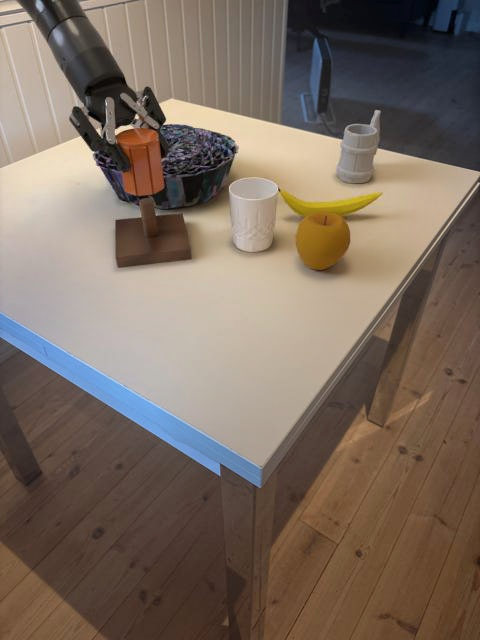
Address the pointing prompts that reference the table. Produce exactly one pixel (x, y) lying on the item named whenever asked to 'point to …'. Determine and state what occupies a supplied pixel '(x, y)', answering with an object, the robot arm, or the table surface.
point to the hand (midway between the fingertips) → (147, 162)
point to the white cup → (253, 213)
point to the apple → (322, 239)
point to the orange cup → (142, 161)
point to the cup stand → (151, 237)
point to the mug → (359, 151)
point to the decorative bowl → (182, 167)
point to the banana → (328, 204)
